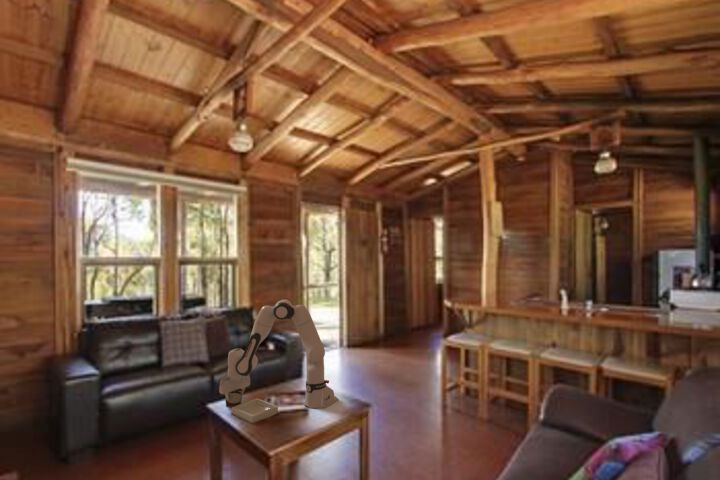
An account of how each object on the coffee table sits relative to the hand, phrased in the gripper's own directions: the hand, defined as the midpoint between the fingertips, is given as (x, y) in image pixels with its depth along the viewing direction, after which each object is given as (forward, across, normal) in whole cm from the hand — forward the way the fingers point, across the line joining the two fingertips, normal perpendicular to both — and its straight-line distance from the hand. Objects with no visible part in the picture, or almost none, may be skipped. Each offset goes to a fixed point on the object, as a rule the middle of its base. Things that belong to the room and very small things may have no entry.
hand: (234, 397), depth 256 cm
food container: (+5, 0, 0) cm, 5 cm away
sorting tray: (+5, 0, -20) cm, 21 cm away
